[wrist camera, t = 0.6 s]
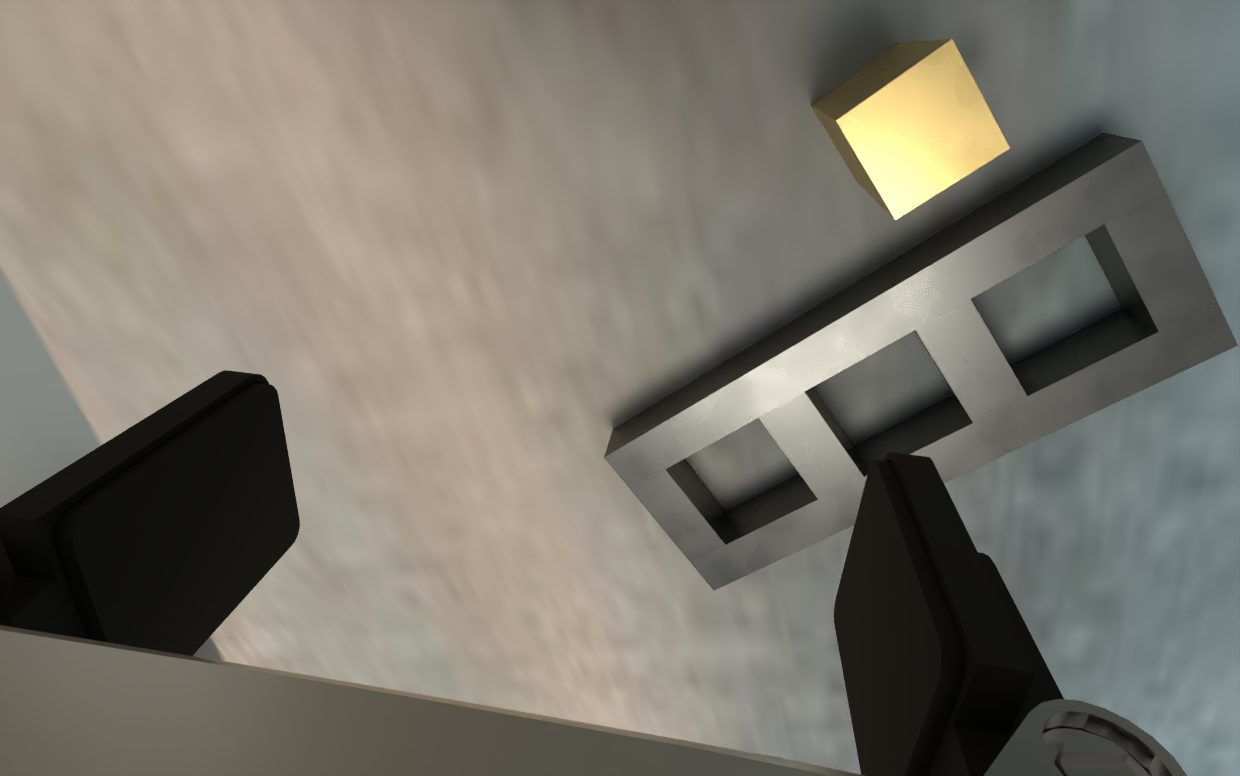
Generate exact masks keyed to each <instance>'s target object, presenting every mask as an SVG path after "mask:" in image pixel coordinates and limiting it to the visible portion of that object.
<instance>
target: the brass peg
mask: <svg viewBox="0 0 1240 776" xmlns="http://www.w3.org/2000/svg"><path fill="white" fill-rule="evenodd" d="M811 106H812V108H813V110H814V111H815V113H816V115H817V116H818V118H819V120H820V121H821V123H822V125H823V126H824V128H825V129H826V131H827V133H828V134H829V136H830V138H831V139H832V141H833V143H834V144H835V146H836V148H837V149H838V151H839V153H840V154H841V156H842V157H843V159H844V161H845V162H846V164H847V166H848V167H849V169H850V171H851V172H852V174H853V176H854V177H855V179H856V181H857V182H858V183H859V184H860V185H861V186H862V187H863V188H864V189H865V190H866V191H867V192H868V193H869V194H870V195H871V196H872V197H873V198H874V199H875V200H876V201H877V202H878V203H879V204H880V205H881V206H882V207H883V208H884V209H885V210H886V211H887V212H888V213H889V214H890V215H891V216H892V217H893V218H894V219H895V220H896V219H898V218H900V217H901V216H903V215H904V214H906V213H908V212H909V211H911V210H912V209H914V208H916V207H917V206H919V205H920V204H922V203H923V202H925V201H927V200H928V199H930V198H931V197H933V196H935V195H936V194H938V193H939V192H941V191H943V190H944V189H946V188H947V187H949V186H951V185H952V184H954V183H955V182H957V181H959V180H960V179H962V178H963V177H965V176H967V175H968V174H970V173H971V172H973V171H975V170H976V169H978V168H979V167H981V166H983V165H984V164H986V163H987V162H989V161H991V160H992V159H994V158H995V157H997V156H999V155H1000V154H1002V153H1003V152H1005V151H1007V150H1008V149H1010V147H1009V145H1008V144H1007V142H1006V140H1005V138H1004V136H1003V134H1002V132H1001V130H1000V128H999V127H998V125H997V123H996V121H995V119H994V117H993V115H992V113H991V112H990V110H989V108H988V106H987V104H986V102H985V100H984V98H983V96H982V95H981V93H980V91H979V89H978V87H977V85H976V83H975V81H974V79H973V78H972V76H971V74H970V72H969V70H968V68H967V66H966V64H965V62H964V61H963V59H962V57H961V55H960V53H959V51H958V49H957V47H956V45H955V44H954V42H953V40H952V39H946V40H933V41H920V42H908V43H897V44H895V45H894V46H893V47H891V48H890V49H889V50H887V51H886V52H884V53H883V54H882V55H880V56H879V57H878V58H876V59H875V60H873V61H872V62H871V63H869V64H868V65H866V66H865V67H864V68H862V69H861V70H860V71H858V72H857V73H855V74H854V75H853V76H851V77H850V78H848V79H847V80H846V81H844V82H843V83H842V84H840V85H839V86H837V87H836V88H835V89H833V90H832V91H830V92H829V93H828V94H826V95H825V96H824V97H822V98H821V99H819V100H818V101H817V102H815V103H814V104H812V105H811Z"/></svg>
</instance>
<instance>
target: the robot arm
mask: <svg viewBox="0 0 1240 776" xmlns="http://www.w3.org/2000/svg"><path fill="white" fill-rule="evenodd" d="M299 526H300V521H299V514H298V509H297V503H296V497H295V491H294V485H293V479H292V473H291V468H290V462H289V456H288V450H287V444H286V438H285V433H284V427H283V421H282V415H281V409H280V403H279V397H278V393H277V390H276V389H275V387H274V386H272V385H269V382H268V381H267V379H266V378H265V377H264V376H262V375H259V374H251V373H243V372H235V371H222V372H220V373H218V374H216V375H215V376H213V377H211V378H210V379H208V380H206V381H205V382H203V383H202V384H200V385H198V386H197V387H195V388H194V389H192V390H190V391H189V392H187V393H185V394H184V395H182V396H181V397H179V398H177V399H176V400H174V401H173V402H171V403H169V404H168V405H166V406H164V407H163V408H161V409H160V410H158V411H156V412H155V413H153V414H152V415H150V416H148V417H147V418H145V419H143V420H142V421H140V422H139V423H137V424H135V425H134V426H132V427H131V428H129V429H127V430H126V431H124V432H122V433H121V434H119V435H118V436H116V437H114V438H113V439H111V440H110V441H108V442H106V443H105V444H103V445H101V446H100V447H98V448H97V449H95V450H94V451H92V452H90V453H89V454H87V455H85V456H84V457H82V458H80V459H79V460H77V461H76V462H74V463H72V464H71V465H69V466H68V467H66V468H64V469H63V470H61V471H59V472H58V473H56V474H55V475H53V476H52V477H50V478H49V479H47V480H45V481H43V482H42V483H40V484H38V485H37V486H35V487H34V488H32V489H30V490H29V491H27V492H25V493H24V494H23V495H21V496H19V497H18V498H16V499H14V500H13V501H11V502H9V503H8V504H6V505H4V506H3V507H1V508H0V776H1187V775H1186V774H1185V772H1184V771H1183V769H1182V768H1181V767H1180V765H1179V764H1178V762H1177V761H1176V760H1175V758H1174V757H1173V756H1172V755H1171V754H1170V753H1169V752H1168V751H1167V750H1166V749H1165V748H1164V747H1163V746H1162V745H1161V744H1159V743H1158V742H1157V741H1156V740H1155V739H1154V738H1153V737H1152V736H1150V735H1149V734H1148V733H1146V732H1145V731H1143V730H1142V729H1140V728H1139V727H1137V726H1136V725H1135V724H1133V723H1132V722H1130V721H1129V720H1127V719H1125V718H1123V717H1121V716H1119V715H1117V714H1115V713H1113V712H1111V711H1109V710H1107V709H1105V708H1102V707H1098V706H1095V705H1092V704H1089V703H1085V702H1082V701H1076V700H1065V699H1064V698H1063V696H1062V694H1061V692H1060V690H1059V689H1058V687H1057V685H1056V683H1055V681H1054V679H1053V677H1052V675H1051V673H1050V671H1049V669H1048V667H1047V665H1046V663H1045V661H1044V659H1043V657H1042V655H1041V653H1040V652H1039V650H1038V648H1037V646H1036V644H1035V642H1034V640H1033V638H1032V636H1031V634H1030V632H1029V630H1028V628H1027V626H1026V624H1025V622H1024V620H1023V618H1022V617H1021V615H1020V613H1019V611H1018V609H1017V607H1016V605H1015V603H1014V601H1013V599H1012V597H1011V595H1010V593H1009V591H1008V589H1007V587H1006V585H1005V583H1004V581H1003V580H1002V578H1001V576H1000V574H999V572H998V570H997V568H996V566H995V564H994V562H993V561H992V560H991V558H990V557H989V556H988V555H986V554H984V553H978V552H977V550H976V548H975V546H974V544H973V542H972V540H971V538H970V536H969V534H968V532H967V530H966V528H965V526H964V524H963V522H962V520H961V518H960V516H959V514H958V512H957V509H956V507H955V505H954V503H953V501H952V499H951V497H950V495H949V493H948V491H947V489H946V487H945V485H944V483H943V481H942V479H941V477H940V475H939V473H938V471H937V469H936V467H935V465H934V463H933V461H932V459H931V458H930V457H926V456H918V455H910V454H901V453H893V452H889V453H888V454H887V455H886V456H885V458H884V461H879V460H873V461H872V462H871V464H870V467H869V470H868V474H867V478H866V482H865V486H864V490H863V494H862V498H861V502H860V506H859V510H858V514H857V518H856V522H855V525H854V529H853V533H852V537H851V541H850V545H849V549H848V553H847V557H846V561H845V565H844V569H843V573H842V577H841V580H840V584H839V588H838V592H837V596H836V601H835V608H834V623H835V630H836V635H837V641H838V646H839V652H840V658H841V663H842V669H843V674H844V680H845V686H846V691H847V697H848V702H849V708H850V714H851V719H852V725H853V730H854V736H855V742H856V747H857V753H858V759H859V764H860V770H861V775H859V774H855V773H850V772H845V771H841V770H836V769H831V768H826V767H822V766H817V765H812V764H808V763H803V762H798V761H794V760H789V759H784V758H780V757H774V756H768V755H762V754H756V753H750V752H745V751H739V750H733V749H728V748H723V747H718V746H712V745H707V744H702V743H696V742H691V741H686V740H680V739H674V738H668V737H663V736H657V735H651V734H646V733H640V732H634V731H629V730H623V729H617V728H611V727H606V726H600V725H594V724H589V723H583V722H577V721H572V720H566V719H560V718H554V717H549V716H543V715H537V714H532V713H526V712H520V711H515V710H509V709H503V708H497V707H492V706H486V705H480V704H474V703H468V702H462V701H457V700H451V699H445V698H439V697H433V696H427V695H421V694H416V693H410V692H404V691H398V690H392V689H386V688H380V687H374V686H369V685H363V684H357V683H351V682H345V681H339V680H333V679H327V678H321V677H315V676H309V675H303V674H297V673H291V672H285V671H279V670H273V669H267V668H262V667H255V666H249V665H243V664H237V663H231V662H225V661H219V660H212V659H206V658H200V657H194V656H193V655H194V653H195V652H196V651H197V650H198V649H199V648H200V647H201V646H202V645H203V644H204V642H205V641H206V640H207V639H208V638H209V637H210V636H211V635H212V633H213V632H214V631H215V630H216V629H217V628H218V627H219V626H220V625H221V623H222V622H223V621H224V620H225V619H226V618H227V617H228V616H229V615H230V613H231V612H232V611H233V610H234V609H235V608H236V607H237V606H238V605H239V603H240V602H241V601H242V600H243V599H244V598H245V597H246V596H247V595H248V593H249V592H250V591H251V590H252V589H253V588H254V587H255V586H256V585H257V583H258V582H259V581H260V580H261V579H262V578H263V577H264V576H265V575H266V573H267V572H268V571H269V570H270V569H271V568H272V567H273V566H274V565H275V563H276V562H277V561H278V560H279V559H280V558H281V557H282V556H283V555H284V553H285V552H286V551H287V550H288V549H289V548H290V547H291V546H292V544H293V543H294V542H295V540H296V538H297V535H298V532H299Z"/></svg>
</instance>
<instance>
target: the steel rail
mask: <svg viewBox="0 0 1240 776" xmlns="http://www.w3.org/2000/svg"><path fill="white" fill-rule="evenodd" d="M1084 235H1085V236H1086V238H1087V240H1088V242H1089V244H1090V246H1091V248H1092V250H1093V252H1094V253H1095V255H1096V257H1097V259H1098V261H1099V263H1100V265H1101V267H1102V269H1103V271H1104V273H1105V275H1106V277H1107V279H1108V281H1109V283H1110V284H1111V286H1112V288H1113V290H1114V292H1115V294H1116V296H1117V298H1118V300H1119V302H1120V304H1121V306H1122V308H1123V309H1121V310H1119V311H1117V312H1115V313H1113V314H1112V315H1110V316H1108V317H1106V318H1104V319H1102V320H1100V321H1098V322H1096V323H1094V324H1092V325H1090V326H1088V327H1086V328H1084V329H1082V330H1080V331H1078V332H1076V333H1074V334H1072V335H1071V336H1069V337H1067V338H1065V339H1063V340H1061V341H1059V342H1057V343H1055V344H1053V345H1051V346H1049V347H1047V348H1045V349H1043V350H1041V351H1039V352H1037V353H1035V354H1033V355H1031V356H1030V357H1028V358H1026V359H1024V360H1022V361H1020V362H1018V363H1016V364H1014V365H1012V366H1009V364H1008V362H1007V360H1006V359H1005V357H1004V355H1003V354H1002V352H1001V350H1000V349H999V347H998V345H997V343H996V342H995V340H994V338H993V337H992V335H991V333H990V332H989V330H988V328H987V326H986V325H985V323H984V321H983V320H982V318H981V316H980V314H979V313H978V311H977V309H976V308H975V306H974V304H973V303H972V301H971V298H973V297H975V296H977V295H978V294H980V293H982V292H984V291H986V290H987V289H989V288H991V287H993V286H995V285H996V284H998V283H1000V282H1002V281H1004V280H1005V279H1007V278H1009V277H1011V276H1012V275H1014V274H1016V273H1018V272H1020V271H1021V270H1023V269H1025V268H1027V267H1029V266H1030V265H1032V264H1034V263H1036V262H1038V261H1039V260H1041V259H1043V258H1045V257H1046V256H1048V255H1050V254H1052V253H1054V252H1055V251H1057V250H1059V249H1061V248H1063V247H1064V246H1066V245H1068V244H1070V243H1072V242H1073V241H1075V240H1077V239H1079V238H1080V237H1082V236H1084ZM914 330H915V332H916V334H917V335H918V337H919V338H920V340H921V342H922V343H923V345H924V346H925V348H926V350H927V351H928V353H929V355H930V356H931V358H932V359H933V361H934V363H935V364H936V366H937V367H938V369H939V371H940V372H941V374H942V375H943V377H944V379H945V380H946V382H947V383H948V385H949V387H950V388H951V390H952V391H953V393H954V395H953V396H951V397H949V398H948V399H946V400H944V401H942V402H940V403H938V404H936V405H934V406H932V407H930V408H928V409H926V410H924V411H922V412H920V413H918V414H916V415H914V416H912V417H910V418H908V419H907V420H905V421H903V422H901V423H899V424H897V425H895V426H893V427H891V428H889V429H887V430H885V431H883V432H881V433H879V434H877V435H875V436H873V437H871V438H869V439H867V440H866V441H864V442H862V443H860V444H858V445H856V446H854V445H853V444H852V442H851V441H850V440H849V438H848V437H847V435H846V434H845V432H844V431H843V429H842V428H841V427H840V425H839V424H838V422H837V421H836V419H835V418H834V416H833V415H832V413H831V412H830V411H829V409H828V408H827V406H826V405H825V403H824V402H823V400H822V399H821V398H820V396H819V395H818V393H817V392H816V390H815V389H814V386H816V385H817V384H819V383H821V382H823V381H825V380H826V379H828V378H830V377H832V376H833V375H835V374H837V373H839V372H841V371H842V370H844V369H846V368H848V367H850V366H851V365H853V364H855V363H857V362H859V361H860V360H862V359H864V358H866V357H867V356H869V355H871V354H873V353H875V352H876V351H878V350H880V349H882V348H884V347H885V346H887V345H889V344H891V343H893V342H894V341H896V340H898V339H900V338H901V337H903V336H905V335H907V334H909V333H910V332H912V331H914ZM1236 346H1238V345H1237V343H1236V340H1235V338H1234V336H1233V334H1232V332H1231V330H1230V328H1229V326H1228V323H1227V321H1226V319H1225V317H1224V315H1223V313H1222V311H1221V309H1220V306H1219V304H1218V302H1217V300H1216V298H1215V296H1214V294H1213V292H1212V289H1211V287H1210V285H1209V283H1208V281H1207V279H1206V277H1205V274H1204V272H1203V270H1202V268H1201V266H1200V264H1199V262H1198V260H1197V257H1196V255H1195V253H1194V251H1193V249H1192V247H1191V245H1190V243H1189V240H1188V238H1187V236H1186V234H1185V232H1184V230H1183V228H1182V226H1181V223H1180V221H1179V219H1178V217H1177V215H1176V213H1175V211H1174V209H1173V206H1172V204H1171V202H1170V200H1169V198H1168V196H1167V194H1166V192H1165V189H1164V187H1163V185H1162V183H1161V181H1160V179H1159V177H1158V175H1157V172H1156V170H1155V168H1154V166H1153V164H1152V162H1151V160H1150V157H1149V155H1148V153H1147V151H1146V149H1145V147H1144V145H1143V143H1142V141H1140V140H1135V139H1131V138H1126V137H1121V136H1116V135H1111V134H1106V133H1103V134H1101V135H1100V136H1098V137H1096V138H1095V139H1093V140H1091V141H1090V142H1088V143H1086V144H1085V145H1083V146H1082V147H1080V148H1078V149H1077V150H1075V151H1073V152H1072V153H1070V154H1068V155H1067V156H1065V157H1063V158H1062V159H1060V160H1058V161H1057V162H1055V163H1053V164H1052V165H1050V166H1048V167H1047V168H1045V169H1043V170H1042V171H1040V172H1038V173H1037V174H1035V175H1034V176H1032V177H1030V178H1029V179H1027V180H1025V181H1024V182H1022V183H1020V184H1019V185H1017V186H1015V187H1014V188H1012V189H1010V190H1009V191H1007V192H1005V193H1004V194H1002V195H1000V196H999V197H997V198H995V199H994V200H992V201H990V202H989V203H987V204H986V205H984V206H982V207H981V208H979V209H977V210H976V211H974V212H972V213H971V214H969V215H967V216H966V217H964V218H962V219H961V220H959V221H957V222H956V223H954V224H952V225H951V226H949V227H947V228H946V229H944V230H942V231H941V232H939V233H937V234H936V235H934V236H933V237H931V238H929V239H928V240H926V241H924V242H923V243H921V244H919V245H918V246H916V247H914V248H913V249H911V250H909V251H908V252H906V253H904V254H903V255H901V256H899V257H898V258H896V259H894V260H893V261H891V262H889V263H888V264H886V265H885V266H883V267H881V268H880V269H878V270H876V271H875V272H873V273H871V274H870V275H868V276H866V277H865V278H863V279H861V280H860V281H858V282H856V283H855V284H853V285H851V286H850V287H848V288H846V289H845V290H843V291H841V292H840V293H838V294H837V295H835V296H833V297H832V298H830V299H828V300H827V301H825V302H823V303H822V304H820V305H818V306H817V307H815V308H813V309H812V310H810V311H808V312H807V313H805V314H803V315H802V316H800V317H798V318H797V319H795V320H793V321H792V322H790V323H788V324H787V325H785V326H784V327H782V328H780V329H779V330H777V331H775V332H774V333H772V334H770V335H769V336H767V337H765V338H764V339H762V340H760V341H759V342H757V343H755V344H754V345H752V346H750V347H749V348H747V349H745V350H744V351H742V352H740V353H739V354H737V355H736V356H734V357H732V358H731V359H729V360H727V361H726V362H724V363H722V364H721V365H719V366H717V367H716V368H714V369H712V370H711V371H709V372H707V373H706V374H704V375H702V376H701V377H699V378H697V379H696V380H694V381H692V382H691V383H689V384H687V385H686V386H684V387H683V388H681V389H679V390H678V391H676V392H674V393H673V394H671V395H669V396H668V397H666V398H664V399H663V400H661V401H659V402H658V403H656V404H654V405H653V406H651V407H649V408H648V409H646V410H644V411H643V412H641V413H639V414H638V415H636V416H635V417H633V418H631V419H630V420H628V421H626V422H625V423H623V424H621V425H620V426H618V427H616V428H615V429H613V431H612V434H611V437H610V440H609V444H608V447H607V450H606V453H605V456H604V458H605V459H606V460H607V462H608V463H609V464H610V465H611V466H612V468H613V469H614V470H615V471H616V473H617V474H618V475H619V476H620V477H621V479H622V480H623V481H624V482H625V483H626V485H627V486H628V487H629V488H630V489H631V491H632V492H633V493H634V494H635V496H636V497H637V498H638V499H639V500H640V502H641V503H642V504H643V505H644V506H645V508H646V509H647V510H648V511H649V513H650V514H651V515H652V516H653V517H654V519H655V520H656V521H657V522H658V523H659V525H660V526H661V527H662V528H663V530H664V531H665V532H666V533H667V534H668V536H669V537H670V538H671V539H672V540H673V542H674V543H675V544H676V545H677V547H678V548H679V549H680V550H681V551H682V553H683V554H684V555H685V556H686V557H687V559H688V560H689V561H690V562H691V564H692V565H693V566H694V567H695V568H696V570H697V571H698V572H699V573H700V574H701V576H702V577H703V578H704V579H705V581H706V582H707V583H708V584H709V585H710V587H711V588H712V589H713V590H716V589H718V588H720V587H722V586H725V585H727V584H729V583H731V582H733V581H735V580H737V579H740V578H742V577H744V576H746V575H748V574H750V573H752V572H755V571H757V570H759V569H761V568H763V567H765V566H767V565H770V564H772V563H774V562H776V561H778V560H780V559H782V558H784V557H787V556H789V555H791V554H793V553H795V552H797V551H799V550H802V549H804V548H806V547H808V546H810V545H812V544H814V543H817V542H819V541H821V540H823V539H825V538H827V537H829V536H832V535H834V534H836V533H838V532H840V531H842V530H844V529H846V528H849V527H851V526H853V525H855V522H856V518H857V514H858V510H859V506H860V502H861V498H862V494H863V490H864V486H865V482H866V478H867V474H868V470H869V467H870V464H871V462H872V461H873V460H879V461H884V458H885V456H886V455H887V454H888V453H889V452H893V453H901V454H910V455H918V456H926V457H930V458H931V459H932V461H933V463H934V465H935V467H936V469H937V471H938V473H939V475H940V477H941V479H942V481H943V483H945V482H947V481H949V480H951V479H953V478H956V477H958V476H960V475H962V474H964V473H966V472H968V471H971V470H973V469H975V468H977V467H979V466H981V465H983V464H985V463H988V462H990V461H992V460H994V459H996V458H998V457H1000V456H1003V455H1005V454H1007V453H1009V452H1011V451H1013V450H1015V449H1018V448H1020V447H1022V446H1024V445H1026V444H1028V443H1030V442H1033V441H1035V440H1037V439H1039V438H1041V437H1043V436H1045V435H1047V434H1050V433H1052V432H1054V431H1056V430H1058V429H1060V428H1062V427H1065V426H1067V425H1069V424H1071V423H1073V422H1075V421H1077V420H1080V419H1082V418H1084V417H1086V416H1088V415H1090V414H1092V413H1095V412H1097V411H1099V410H1101V409H1103V408H1105V407H1107V406H1109V405H1112V404H1114V403H1116V402H1118V401H1120V400H1122V399H1124V398H1127V397H1129V396H1131V395H1133V394H1135V393H1137V392H1139V391H1142V390H1144V389H1146V388H1148V387H1150V386H1152V385H1154V384H1157V383H1159V382H1161V381H1163V380H1165V379H1167V378H1169V377H1172V376H1174V375H1176V374H1178V373H1180V372H1182V371H1184V370H1186V369H1189V368H1191V367H1193V366H1195V365H1197V364H1199V363H1201V362H1204V361H1206V360H1208V359H1210V358H1212V357H1214V356H1216V355H1219V354H1221V353H1223V352H1225V351H1227V350H1229V349H1231V348H1234V347H1236ZM757 418H759V419H760V420H761V422H762V423H763V424H764V426H765V427H766V429H767V430H768V431H769V433H770V434H771V435H772V437H773V438H774V440H775V441H776V442H777V444H778V445H779V446H780V448H781V449H782V451H783V452H784V453H785V455H786V456H787V457H788V459H789V460H790V461H791V463H792V464H793V466H794V467H795V468H796V470H797V471H798V472H799V475H797V476H795V477H793V478H791V479H789V480H787V481H785V482H783V483H782V484H780V485H778V486H776V487H774V488H772V489H770V490H768V491H766V492H764V493H762V494H760V495H758V496H756V497H754V498H752V499H750V500H748V501H746V502H744V503H742V504H741V505H739V506H737V507H735V508H733V509H731V510H729V511H727V512H726V511H725V510H724V509H723V508H722V506H721V505H720V504H719V503H718V501H717V500H716V499H715V497H714V496H713V495H712V494H711V492H710V491H709V490H708V488H707V487H706V486H705V485H704V483H703V482H702V481H701V480H700V478H699V477H698V476H697V474H696V473H695V472H694V471H693V469H692V468H691V467H690V465H689V464H688V463H687V462H686V460H685V458H687V457H689V456H690V455H692V454H694V453H696V452H697V451H699V450H701V449H703V448H705V447H706V446H708V445H710V444H712V443H714V442H715V441H717V440H719V439H721V438H723V437H724V436H726V435H728V434H730V433H731V432H733V431H735V430H737V429H739V428H740V427H742V426H744V425H746V424H748V423H749V422H751V421H753V420H755V419H757Z"/></svg>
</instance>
